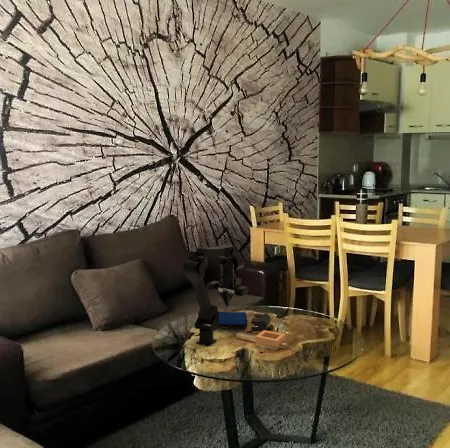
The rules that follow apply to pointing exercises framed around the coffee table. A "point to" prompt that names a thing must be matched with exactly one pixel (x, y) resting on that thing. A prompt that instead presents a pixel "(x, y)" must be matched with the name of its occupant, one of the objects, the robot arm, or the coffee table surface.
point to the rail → (255, 338)
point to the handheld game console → (232, 319)
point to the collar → (270, 338)
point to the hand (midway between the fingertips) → (227, 306)
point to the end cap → (260, 322)
